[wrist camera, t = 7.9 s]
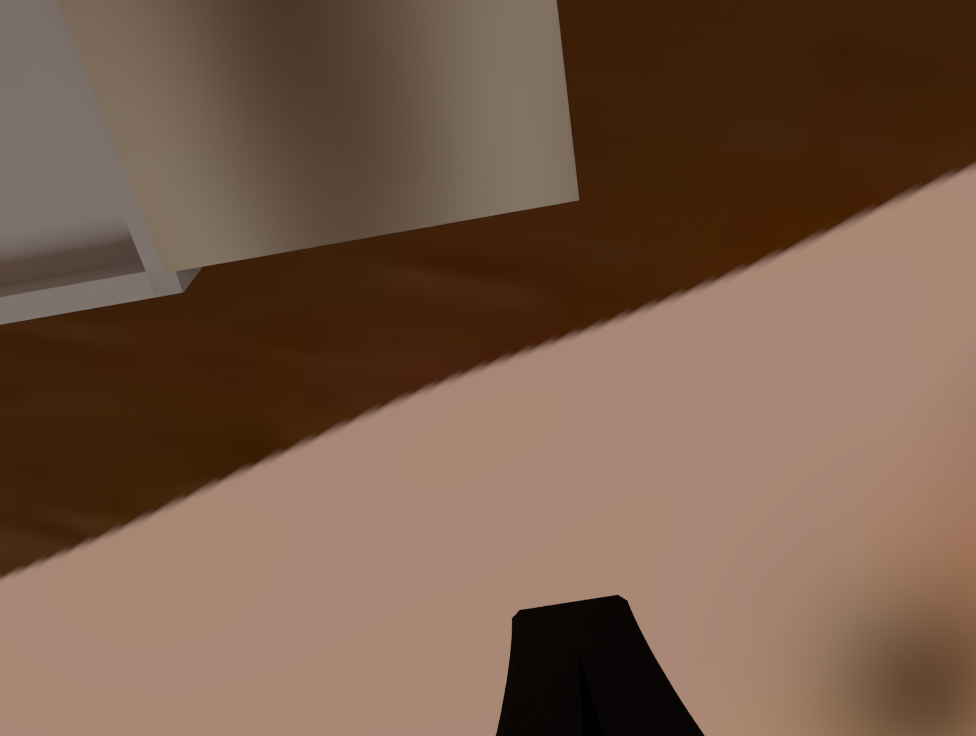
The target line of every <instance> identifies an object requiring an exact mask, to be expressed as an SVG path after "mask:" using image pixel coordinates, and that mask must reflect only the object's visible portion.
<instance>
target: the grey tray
mask: <svg viewBox="0 0 976 736" xmlns="http://www.w3.org/2000/svg"><path fill="white" fill-rule="evenodd" d="M200 270H201V267H197V268H192V269H186V270H180V271H175V272H169V273H165V272H164V269H163V267H162V264H161V262H160V259H159V257H158V254H157V252H156V249H155V247H154V244H153V241H152V239H151V236H150V234H149V231H148V229H147V226H146V224H145V221H144V219H143V216H142V214H141V211H140V208H139V206H138V203H137V201H136V198H135V196H134V193H133V191H132V188H131V186H130V183H129V181H128V178H127V176H126V173H125V170H124V168H123V165H122V163H121V160H120V158H119V155H118V153H117V150H116V148H115V145H114V143H113V140H112V137H111V135H110V132H109V130H108V127H107V125H106V122H105V120H104V117H103V115H102V112H101V110H100V107H99V105H98V102H97V99H96V97H95V94H94V92H93V89H92V87H91V84H90V82H89V79H88V77H87V74H86V72H85V69H84V66H83V64H82V61H81V59H80V56H79V54H78V51H77V49H76V46H75V44H74V41H73V39H72V36H71V33H70V31H69V28H68V26H67V23H66V21H65V18H64V16H63V13H62V11H61V8H60V6H59V3H58V1H57V0H0V324H6V323H12V322H17V321H23V320H29V319H34V318H40V317H46V316H51V315H57V314H63V313H69V312H74V311H80V310H86V309H91V308H97V307H103V306H109V305H114V304H120V303H126V302H131V301H137V300H143V299H148V298H154V297H160V296H166V295H171V294H177V293H183V292H184V291H185V289H186V288H187V287H188V285H189V284H190V283H191V282H192V280H193V279H194V278H195V276H196V275H197V274H198V272H199V271H200Z"/></svg>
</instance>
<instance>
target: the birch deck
mask: <svg viewBox="0 0 976 736" xmlns="http://www.w3.org/2000/svg"><path fill="white" fill-rule="evenodd" d="M57 1H58V3H59V6H60V8H61V11H62V13H63V16H64V18H65V21H66V23H67V26H68V28H69V31H70V33H71V36H72V39H73V41H74V44H75V46H76V49H77V51H78V54H79V56H80V59H81V61H82V64H83V66H84V69H85V72H86V74H87V77H88V79H89V82H90V84H91V87H92V89H93V92H94V94H95V97H96V99H97V102H98V105H99V107H100V110H101V112H102V115H103V117H104V120H105V122H106V125H107V127H108V130H109V132H110V135H111V137H112V140H113V143H114V145H115V148H116V150H117V153H118V155H119V158H120V160H121V163H122V165H123V168H124V170H125V173H126V176H127V178H128V181H129V183H130V186H131V188H132V191H133V193H134V196H135V198H136V201H137V203H138V206H139V208H140V211H141V214H142V216H143V219H144V221H145V224H146V226H147V229H148V231H149V234H150V236H151V239H152V241H153V244H154V247H155V249H156V252H157V254H158V257H159V259H160V262H161V264H162V267H163V269H164V272H165V273H169V272H175V271H180V270H186V269H192V268H197V267H203V266H209V265H214V264H220V263H226V262H231V261H237V260H243V259H248V258H254V257H260V256H265V255H271V254H277V253H282V252H288V251H294V250H299V249H305V248H311V247H316V246H322V245H328V244H333V243H339V242H345V241H350V240H356V239H362V238H367V237H373V236H379V235H384V234H390V233H396V232H401V231H407V230H413V229H418V228H424V227H430V226H435V225H441V224H447V223H452V222H458V221H464V220H469V219H475V218H481V217H486V216H492V215H498V214H503V213H509V212H515V211H520V210H526V209H532V208H537V207H543V206H548V205H554V204H560V203H565V202H571V201H577V200H579V195H578V186H577V177H576V168H575V159H574V151H573V142H572V133H571V124H570V115H569V106H568V98H567V89H566V80H565V71H564V62H563V54H562V45H561V36H560V27H559V18H558V9H557V1H556V0H57Z"/></svg>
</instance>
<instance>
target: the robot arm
mask: <svg viewBox="0 0 976 736" xmlns="http://www.w3.org/2000/svg"><path fill="white" fill-rule="evenodd" d="M496 736H704V734H703V733H702V731H701V730H700V728H699V727H698V725H697V724H696V722H695V721H694V719H693V718H692V717H691V715H690V714H689V712H688V711H687V709H686V708H685V706H684V704H683V703H682V701H681V700H680V698H679V697H678V695H677V693H676V692H675V690H674V689H673V687H672V685H671V683H670V682H669V680H668V678H667V677H666V675H665V673H664V672H663V670H662V668H661V667H660V665H659V664H658V662H657V660H656V658H655V656H654V655H653V653H652V651H651V649H650V647H649V646H648V644H647V642H646V640H645V638H644V636H643V634H642V632H641V630H640V628H639V626H638V624H637V622H636V620H635V618H634V616H633V613H632V611H631V609H630V606H629V604H628V601H627V600H625V599H624V598H622V597H620V596H619V595H614V596H607V597H601V598H594V599H588V600H582V601H575V602H569V603H562V604H556V605H549V606H543V607H537V608H530V609H524V610H519V611H518V613H517V614H516V615H515V616H514V617H513V618H512V640H511V651H510V660H509V668H508V675H507V682H506V688H505V694H504V699H503V704H502V710H501V715H500V720H499V725H498V729H497V733H496Z"/></svg>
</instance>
